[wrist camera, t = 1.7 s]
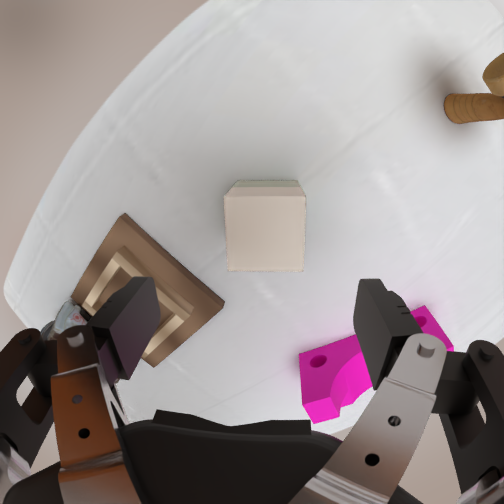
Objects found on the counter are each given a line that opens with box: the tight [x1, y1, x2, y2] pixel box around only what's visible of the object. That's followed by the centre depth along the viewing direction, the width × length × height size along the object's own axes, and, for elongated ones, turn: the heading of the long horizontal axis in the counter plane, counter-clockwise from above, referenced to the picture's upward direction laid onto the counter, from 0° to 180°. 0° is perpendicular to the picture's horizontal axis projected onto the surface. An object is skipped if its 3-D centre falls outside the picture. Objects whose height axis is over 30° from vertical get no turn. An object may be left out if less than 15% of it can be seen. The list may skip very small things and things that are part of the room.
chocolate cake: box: [40, 301, 120, 384], centre depth 29 cm, size 10×7×12 cm
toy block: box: [299, 305, 454, 424], centre depth 27 cm, size 15×6×8 cm, turn 115°
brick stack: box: [224, 180, 306, 272], centre depth 22 cm, size 5×5×7 cm
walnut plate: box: [71, 213, 225, 367], centre depth 28 cm, size 13×13×3 cm
